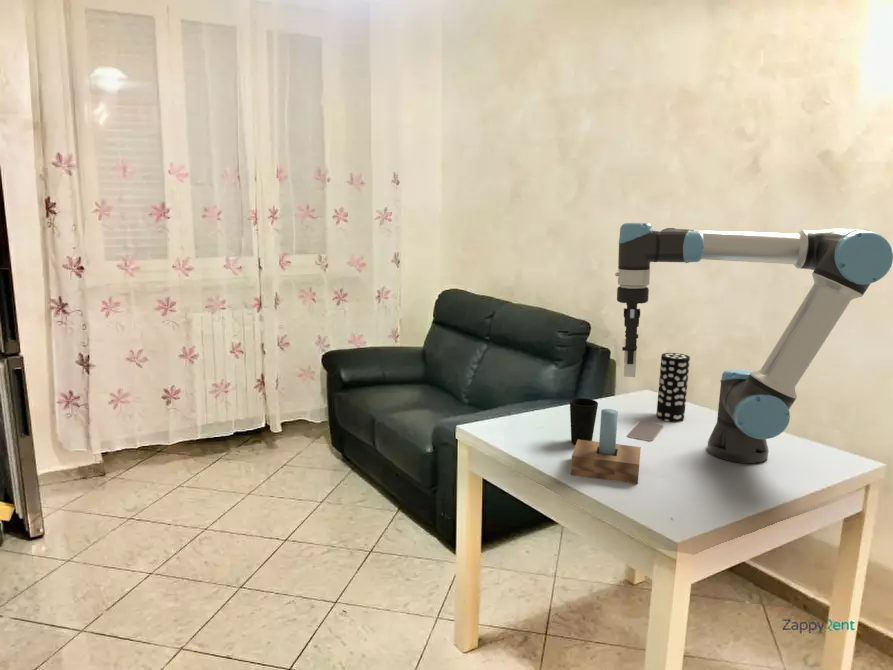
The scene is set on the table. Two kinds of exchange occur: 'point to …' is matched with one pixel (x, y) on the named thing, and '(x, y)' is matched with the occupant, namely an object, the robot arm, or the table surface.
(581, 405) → the cup
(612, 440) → the pin
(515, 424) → the table surface
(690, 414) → the table surface
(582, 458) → the bore block
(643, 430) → the smartphone
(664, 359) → the white-spotted black cylinder
